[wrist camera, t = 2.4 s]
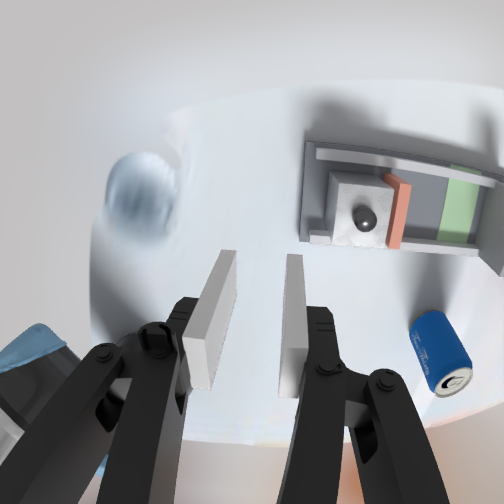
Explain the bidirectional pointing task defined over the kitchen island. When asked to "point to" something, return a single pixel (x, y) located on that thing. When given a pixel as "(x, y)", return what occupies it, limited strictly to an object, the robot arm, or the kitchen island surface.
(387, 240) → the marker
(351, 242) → the white cube with knob
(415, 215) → the base
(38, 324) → the robot arm
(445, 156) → the kitchen island surface
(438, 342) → the beverage can
